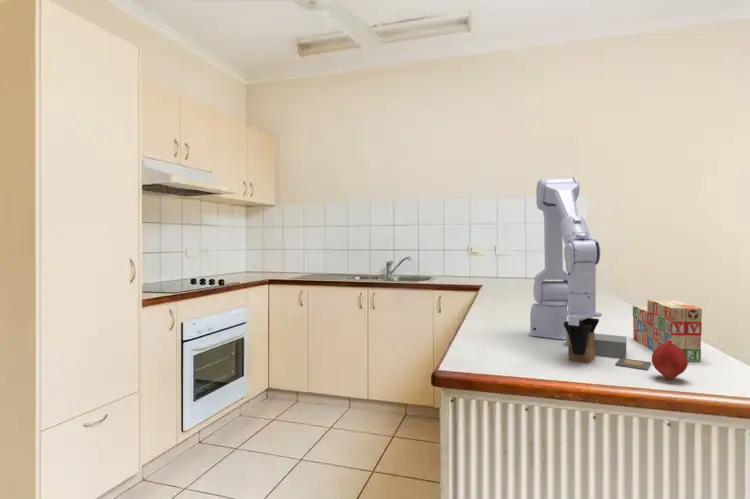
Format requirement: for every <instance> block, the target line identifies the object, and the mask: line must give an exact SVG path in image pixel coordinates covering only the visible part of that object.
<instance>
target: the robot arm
mask: <svg viewBox="0 0 750 499" xmlns="http://www.w3.org/2000/svg"><path fill="white" fill-rule="evenodd" d="M580 187H581V186H580V181H579V180H578V178H577V177H575V176H574V177H559V178H543V177H542V178H539V180H537V183H536V191H535V192H536V194H535V195H536V206H537V209H538V210H540V211H542V214H543V220H544V221H543V223H544V224H543V225H544V226H543V229H544V230H543V231H544V232H543V234H544V236H543V237H544V244H543V245H544V269H542V270H541V271H540V272H539V273H537V274H536V275H535V277H534V282H533V283H534V285H533V290H532V291H533V298H534V300H535V303H532V305H531V307H530V314H529V316H530V317H529V318H530V321H529V322H530V323H529V324H530V325H529V326H530V328H529V329H530V331H529V332H530V333H529V336H531V337H532V336H533V337H540V338H547V339H553V340H554V339H557V340H561V341H562V340H563V341H566V331H567V333H568V335H569V338H570V341H571V346H572V350H573V353H574V354H578V355H584V353H585V349H586V342H587V337H588V334H589V332H595V331H596V328H597V326H598V324H599V322H600V319H599V318H601V317H602V316H603V314H602V312H597V311H596V310H597V308H596V306H597V305H596V304H597V303H596V302H597V300H596V296H597V294H596V291H597V290H596V289H597V288H596V286H597V285H596V281H597V279H596V278H597V276H596V275H597V272H596V271H597V265H598V264H599V263H600V260H601V248H600V247H601V245H600V244H599V243H600V242H599V241H598V239H595V236H591V234H590V231H589V228H588V225H587V222H586V220H585V218H584V217H582V216H579V213H578V209H577V203H576V202H577V200H578V198H579V195H580V189H581V188H580ZM563 243H564V245H563ZM563 246H564V247H563ZM563 248H564V249H563ZM564 263H565V270H564Z"/></svg>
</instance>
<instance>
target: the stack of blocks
mask: <svg viewBox="0 0 750 499" xmlns="http://www.w3.org/2000/svg"><path fill="white" fill-rule="evenodd" d="M646 303H647V305H633V306H632V328H633V330H632V332H633V334H632V335H633V337H632V338H633V340H635V341H636V342H638V343H639V344H640V345H643V346H644V347H645V348H648V349H649V350H651V351H652V352H654V351H655V349H656V348H657V347H658V346H659V345H661V344H663V343H665V342H666V341H667V340H668V339H672V340H673V343H674V344H675V345H676V346H678V347H679V348H680V349H681V350H682V351H683V352H684V353H685V355H686V357H687V360H688V363H701V361H702V360H701V359H702V349H701V347H702V346H701V345H702V343H701V342H702V328H703V326H702V325H703V324H702V323H703V322H702V320H703V319H702V318H703V317H702V316H703V312H702V311H703V308H702V307H697V306H695V305H694V304H691V303H686V302H683V301H680V300H676V299H647V302H646Z"/></svg>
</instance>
